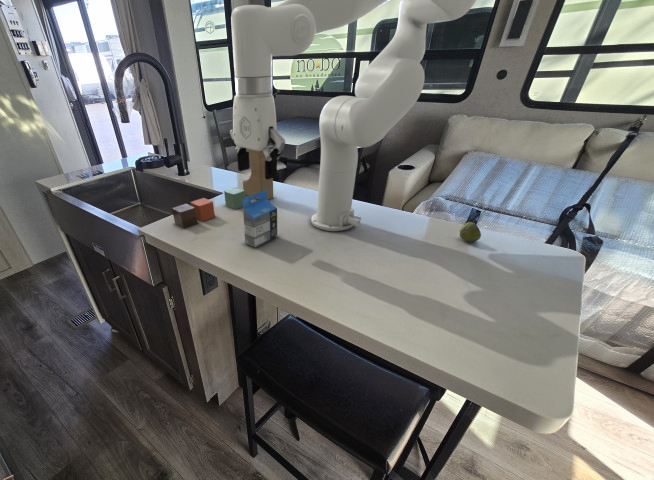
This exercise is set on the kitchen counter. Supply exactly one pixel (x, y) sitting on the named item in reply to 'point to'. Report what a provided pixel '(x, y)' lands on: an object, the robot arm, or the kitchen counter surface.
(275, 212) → the tape cartridge
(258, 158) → the decorative block
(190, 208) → the block
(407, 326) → the kitchen counter surface
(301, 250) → the kitchen counter surface
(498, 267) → the kitchen counter surface
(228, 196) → the block
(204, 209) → the block
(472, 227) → the lime
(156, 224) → the kitchen counter surface
